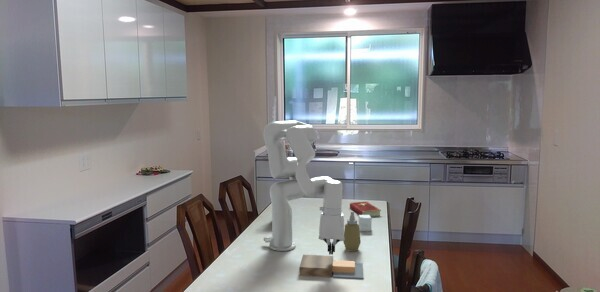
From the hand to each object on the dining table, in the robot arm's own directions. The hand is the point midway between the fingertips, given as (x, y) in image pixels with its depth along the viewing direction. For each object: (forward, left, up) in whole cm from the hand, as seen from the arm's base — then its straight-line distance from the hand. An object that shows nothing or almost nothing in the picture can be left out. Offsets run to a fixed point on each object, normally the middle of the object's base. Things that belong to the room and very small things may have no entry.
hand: (331, 253), depth 170 cm
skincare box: (+16, +53, -7) cm, 56 cm away
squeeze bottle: (+9, +23, -7) cm, 26 cm away
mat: (+7, -1, -7) cm, 10 cm away
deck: (-6, -1, -7) cm, 9 cm away
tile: (+5, -1, -6) cm, 8 cm away
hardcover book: (+17, +87, -8) cm, 89 cm away
